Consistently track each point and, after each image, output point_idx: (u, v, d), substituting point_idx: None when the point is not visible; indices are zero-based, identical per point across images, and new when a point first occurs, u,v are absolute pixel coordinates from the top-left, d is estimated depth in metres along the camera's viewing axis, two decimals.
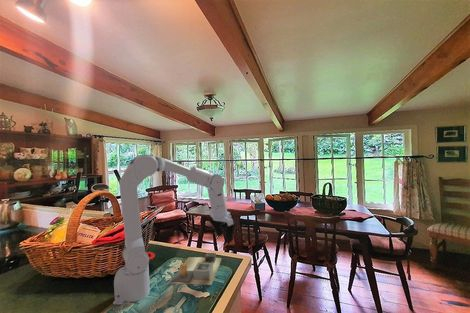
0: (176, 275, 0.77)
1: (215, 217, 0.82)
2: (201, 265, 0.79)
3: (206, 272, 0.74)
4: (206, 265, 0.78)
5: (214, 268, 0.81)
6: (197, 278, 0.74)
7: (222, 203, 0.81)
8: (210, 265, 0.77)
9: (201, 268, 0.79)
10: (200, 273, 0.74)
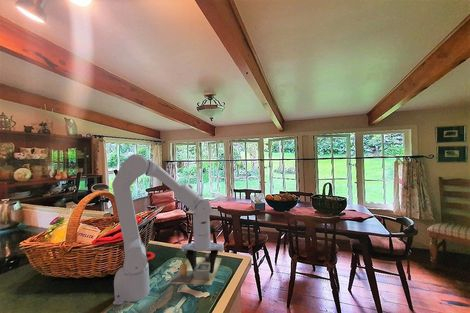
0: (176, 275, 0.77)
1: (203, 247, 0.74)
2: (201, 265, 0.79)
3: (206, 272, 0.74)
4: (206, 265, 0.78)
5: (214, 268, 0.81)
6: (197, 278, 0.74)
7: (205, 232, 0.74)
8: None
9: (201, 268, 0.79)
10: (200, 273, 0.74)
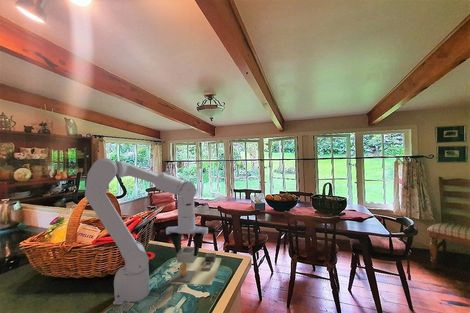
0: (176, 275, 0.77)
1: (187, 229, 0.73)
2: (186, 249, 0.78)
3: (190, 255, 0.73)
4: (191, 249, 0.78)
5: (214, 268, 0.81)
6: (181, 261, 0.74)
7: (190, 214, 0.74)
8: None
9: (186, 252, 0.78)
10: (184, 256, 0.74)
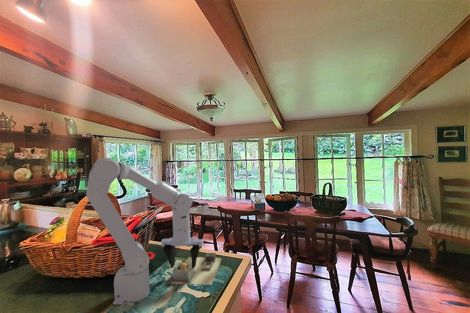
0: None
1: (182, 242, 0.73)
2: None
3: (185, 272, 0.73)
4: None
5: (214, 268, 0.81)
6: (176, 278, 0.74)
7: (185, 227, 0.74)
8: (190, 265, 0.77)
9: None
10: (179, 273, 0.74)
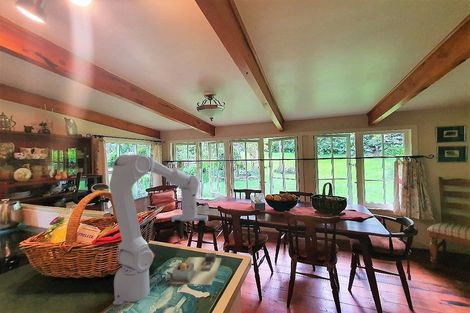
0: None
1: (190, 217, 0.85)
2: None
3: (185, 272, 0.73)
4: None
5: (214, 268, 0.81)
6: (176, 278, 0.74)
7: (195, 203, 0.87)
8: (190, 265, 0.77)
9: None
10: (179, 273, 0.74)
